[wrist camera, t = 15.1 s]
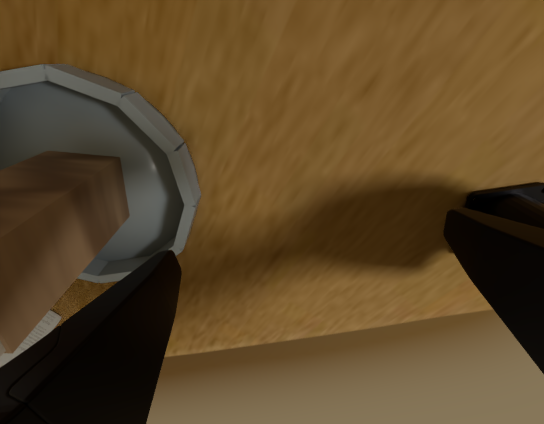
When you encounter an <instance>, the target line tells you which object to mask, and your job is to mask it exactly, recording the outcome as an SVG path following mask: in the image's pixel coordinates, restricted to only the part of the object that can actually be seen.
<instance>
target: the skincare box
mask: <svg viewBox="0 0 544 424" xmlns="http://www.w3.org/2000/svg"><path fill="white" fill-rule="evenodd" d="M61 318H62V317H61V316H59V315H58V314H56V313H55V312H53V311H51V310H49V311H48V313H47V314H46V315H45V316H44V317H43V318H42V320H41V321H40V322H39V323H38V324H37V326H36V327H35V328H34V329H33V330H32V331H31V333H30V334H29V335H28V336H27V337H26V338H25V340H24V341H23V342H22V343H21V344H20V345H19V347H18V348H17V349H16V350H15V351H14V352H13V354H12V353H3V354H2V356H1V357H0V367H2V366H3V365H5V364H6V363H8V362H9V361H10V360H12V359H13V358H15V357H16V356H18V355H19V354H21V353H22V352H24V351H25V350H26V349H28V348H29V347H30V346H32V345H33V344H35V343H36V342H37V341H39V340H40V339H42V338H43V337H44V336H46V335H47V334H48V333H50V332H51V331H52V330H53V329H54V328H55V327H56V325H57V324H58V323H59V321H60V320H61Z"/></svg>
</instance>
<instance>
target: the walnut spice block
mask: <svg viewBox="0 0 544 424" xmlns="http://www.w3.org/2000/svg"><path fill="white" fill-rule="evenodd" d="M129 217H130V214H129V208H128V202H127V196H126V190H125V184H124V178H123V172H122V166H121V160H120V157H113V156H102V155H91V154H80V153H69V152H58V151H45V152H43V153H41V154H38V155H36V156H33V157H31V158H29V159H26V160H24V161H21V162H19V163H17V164H14V165H12V166H9V167H7V168H5V169H2V170H0V357H1V356H2V354H3V353H12V354H13V352H14V351H15V350H16V349H17V348H18V347H19V345H20V344H21V343H22V342H23V341H24V340H25V338H26V337H27V336H28V335H29V334H30V333H31V331H32V330H33V329H34V328H35V327H36V326H37V324H38V323H39V322H40V321H41V320H42V318H43V317H44V316H45V315H46V314H47V313H48V311H49V310H50V309H51V308H52V307H53V306H54V304H55V303H56V302H57V301H58V300H59V299H60V297H61V296H62V295H63V294H64V293H65V292H66V290H67V289H68V288H69V287H70V286H71V285H72V283H73V282H74V281H75V280H76V279H77V277H78V276H79V275H80V274H81V273H82V272H83V270H84V269H85V268H86V267H87V266H88V265H89V263H90V262H91V261H92V260H93V259H94V258H95V256H96V255H97V254H98V253H99V252H100V251H101V249H102V248H103V247H104V246H105V245H106V243H107V242H108V241H109V240H110V239H111V238H112V236H113V235H114V234H115V233H116V232H117V231H118V229H119V228H120V227H121V226H122V225H123V224H124V222H125V221H126V220H127V219H128V218H129Z"/></svg>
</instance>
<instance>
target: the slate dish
mask: <svg viewBox="0 0 544 424" xmlns="http://www.w3.org/2000/svg"><path fill="white" fill-rule="evenodd" d="M45 151H58V152H69V153H80V154H91V155H102V156H113V157H120V160H121V166H122V172H123V178H124V184H125V190H126V196H127V202H128V208H129V214H130V217H129V218H128V219H127V220H126V221H125V222H124V224H123V225H122V226H121V227H120V228H119V229H118V231H117V232H116V233H115V234H114V235H113V236H112V238H111V239H110V240H109V241H108V242H107V243H106V245H105V246H104V247H103V248H102V249H101V251H100V252H99V253H98V254H97V255H96V256H95V258H94V259H93V260H92V261H91V262H90V263H89V265H88V266H87V267H86V268H85V269H84V270H83V272H82V273H81V274H80V275H79V276H78V277H77V278H78V279H82V280H87V281H91V282H95V283H99V282H100V283H107V282H114V281H120V280H121V279H123V278H124V277H125V276H127V275H128V274H129V273H131V272H132V271H134V270H135V269H136V268H138V267H139V266H140V265H142V264H143V263H144V262H146V261H147V260H148V259H150V258H151V257H152V256H154V255H155V254H156V253H158V252H159V251H164V250H172V251H173V252H174V253H175V255H178V254H179V253H180V252H182V250H183V249H184V247H185V244H186V242H187V240H188V237H189V234H190V231H191V228H192V224H193V221H194V218H195V215H196V212H197V207H198V204H199V201H200V197H201V192H200V189H199V185H198V178H197V174H196V169H195V166H194V163H193V160H192V158H191V155H190V153H189V151H188V149H187V146H186V143H184V140H183V139H182V138H181V137H180V136H179V134H178V133H177V131H176V130H175V128H174V127H173V126H172V125H171V124H170V122H169V121H168V120H167V119H166V118H165V117H164V116H163V115H162V114H161V113H160V112H159V111H158V110H157V109H156V108H155V107H154V106H153V105H152V104H150V103H149V102H148V101H146V100H145V99H144V98H143V97H142V96H141V95H140V94H139V93H138V92H136V93H135V90H133V89H130V88H127V87H125V86H124V85H122V84H120V83H117V82H115V81H113V80H111V79H109V78H106V77H103V76H100V75H97V74H94V73H91V72H87V71H83V70H81V69H78V68H76V67H73V66H70V65H68V64H41V65H35V66H30V67H24V68H18V69H13V70H7V71H1V72H0V170H2V169H5V168H7V167H9V166H12V165H14V164H17V163H19V162H21V161H24V160H26V159H29V158H31V157H33V156H36V155H38V154H41V153H43V152H45Z"/></svg>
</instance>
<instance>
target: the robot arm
mask: <svg viewBox="0 0 544 424" xmlns="http://www.w3.org/2000/svg"><path fill="white" fill-rule="evenodd" d="M474 198H476V199H475V200H473V199H474ZM444 237H445V239H446V241H447V243H448V244H449V246H450V248H451V249H452V251H453V252H454V254H455V256H456V257H457V259H458V261H459V262H460V264H461V265H462V267H463V269H464V270H465V272H466V273H467V275H468V276H469V278H470V279H471V281H472V282H473V283H474V285H475V286H476V287H477V289H478V290H479V291H480V292H481V294H482V295H483V296H484V298H485V299H486V300H487V301H488V303H489V304H490V305H491V307H492V308H493V309H494V311H495V312H496V313H497V314H498V316H499V317H500V318H501V319H502V321H503V322H504V323H505V325H506V326H507V327H508V329H509V330H510V331H511V332H512V334H513V335H514V336H515V338H516V339H517V340H518V342H519V343H520V344H521V345H522V347H523V348H524V349H525V350H526V352H527V353H528V354H529V356H530V357H531V358H532V360H533V361H534V362H535V364H536V365H537V366H538V367H539V369H540V370H541V371H542V373H543V374H544V183H537V184H530V185H523V186H516V187H509V188H502V189H495V190H488V191H481V192H474V193H471V194H470V195H469V196H468V197H467V200H466V205H465V208H456V209H450V210H449V211H448V212H447V215H446V220H445V226H444ZM180 282H181V268H180V265H179V263H178V260H177V258H176V255H175V253H174V252H173V251H172V250H164V251H159V252H158V253H156V254H155V255H154V256H152V257H151V258H150V259H148V260H147V261H146V262H144V263H143V264H142V265H140V266H139V267H138V268H136V269H135V270H134V271H132V272H131V273H129V274H128V275H127V276H125V277H124V278H123V279H121V280H120V281H119V282H117V283H116V284H115V285H113V286H112V287H111V288H109V289H108V290H107V291H105V292H104V293H102V294H101V295H100V296H98V297H97V298H96V299H94V300H93V301H92V302H90V303H89V304H88V305H86V306H85V307H84V308H82V309H81V310H80V311H78V312H77V313H75V314H74V315H73V316H71V317H70V318H69V319H67V320H66V321H65V322H63V323H62V324H61V326H58V327H56V328H55V329H54V330H52V331H51V332H50V333H48V334H47V335H46V336H44V337H43V338H42V339H40V340H39V341H37V342H36V343H35V344H33V345H32V346H30V347H29V348H28V349H26V350H25V351H24V352H22V353H21V354H19V355H18V356H16V357H15V358H13V359H12V360H10V361H9V362H8V363H6V364H5V365H3V366H2V367H0V424H146V422H147V418H148V414H149V410H150V407H151V403H152V400H153V396H154V392H155V389H156V384H157V381H158V378H159V374H160V370H161V366H162V363H163V359H164V356H165V352H166V348H167V345H168V341H169V337H170V334H171V330H172V326H173V322H174V318H175V314H176V308H177V301H178V295H179V288H180Z"/></svg>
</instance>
